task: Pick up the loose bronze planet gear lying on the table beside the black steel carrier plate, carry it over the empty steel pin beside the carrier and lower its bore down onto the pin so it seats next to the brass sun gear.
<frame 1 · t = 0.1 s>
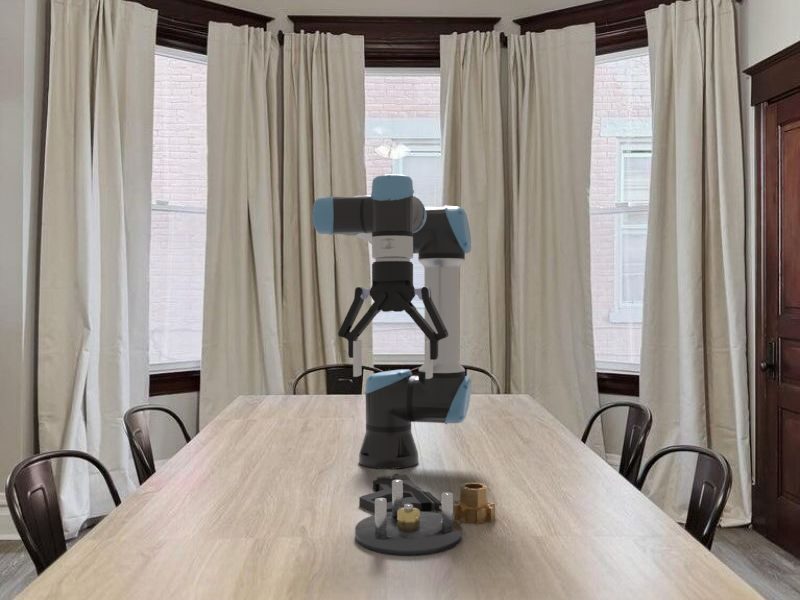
hand: (392, 377, 129), 28 cm above the table, fingers open, 13 cm apart
pistol: (390, 500, 150), on the table
planet gear: (474, 517, 136), on the table
carrier: (408, 535, 126), on the table
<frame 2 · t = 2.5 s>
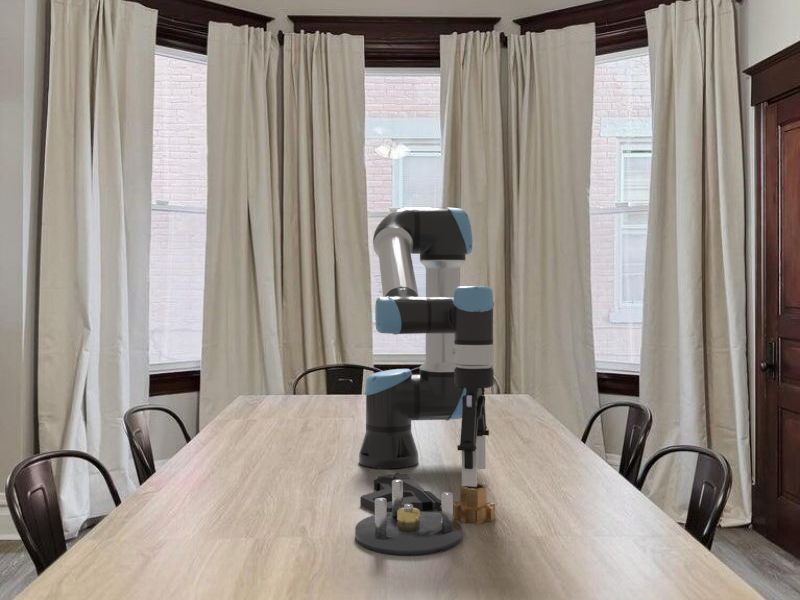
hand: (474, 477, 136), 8 cm above the table, fingers open, 13 cm apart
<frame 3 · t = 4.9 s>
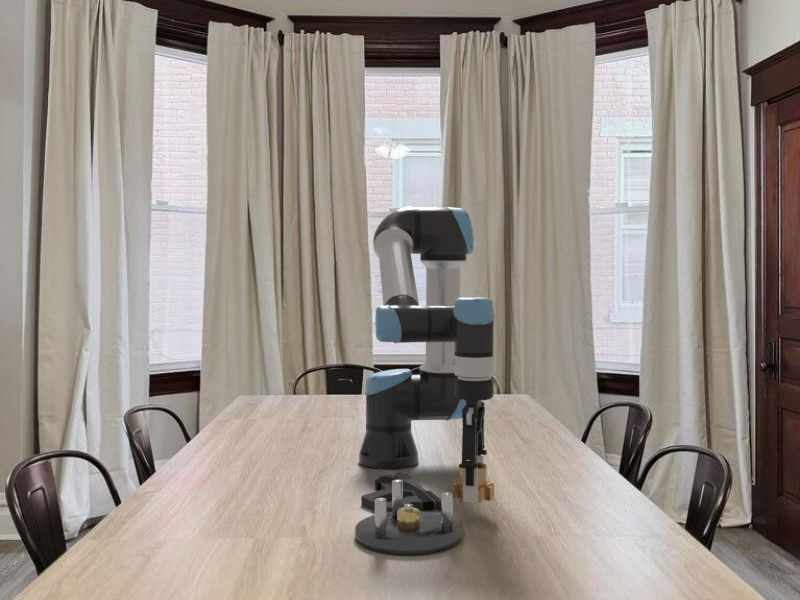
hand: (473, 494, 137), 4 cm above the table, fingers closed on planet gear, 8 cm apart
planet gear: (473, 496, 137), point 4 cm above the table, touching gripper
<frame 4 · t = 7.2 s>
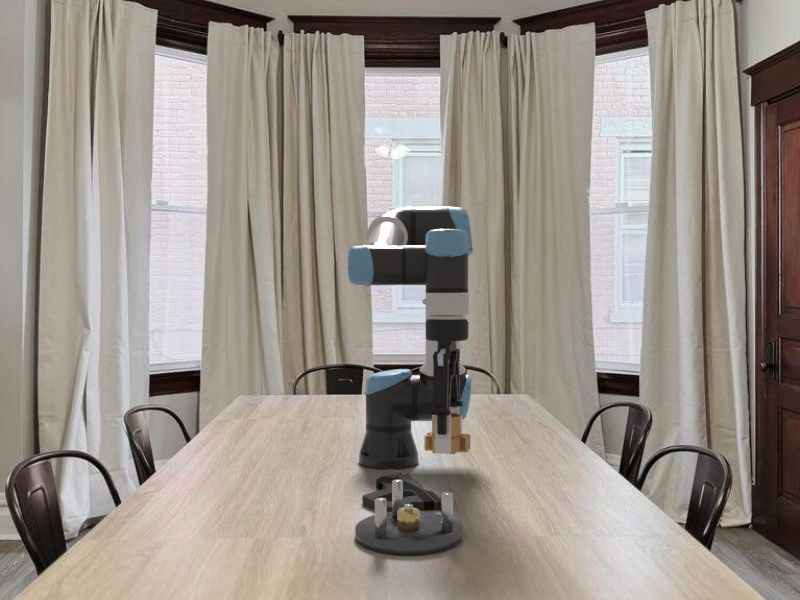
hand: (447, 447, 124), 16 cm above the table, fingers closed on planet gear, 8 cm apart
planet gear: (447, 449, 124), point 16 cm above the table, touching gripper
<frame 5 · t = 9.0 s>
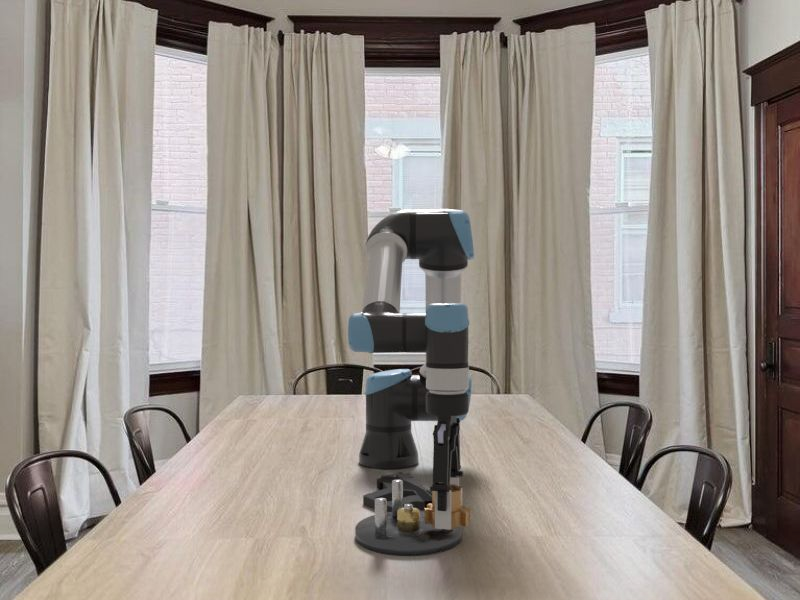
hand: (447, 520, 124), 3 cm above the table, fingers closed on planet gear, 8 cm apart
planet gear: (447, 522, 124), point 3 cm above the table, touching gripper
when the fingers open (2 cm above the table, at t = 9.8 s): planet gear stays where it is, resting on carrier.
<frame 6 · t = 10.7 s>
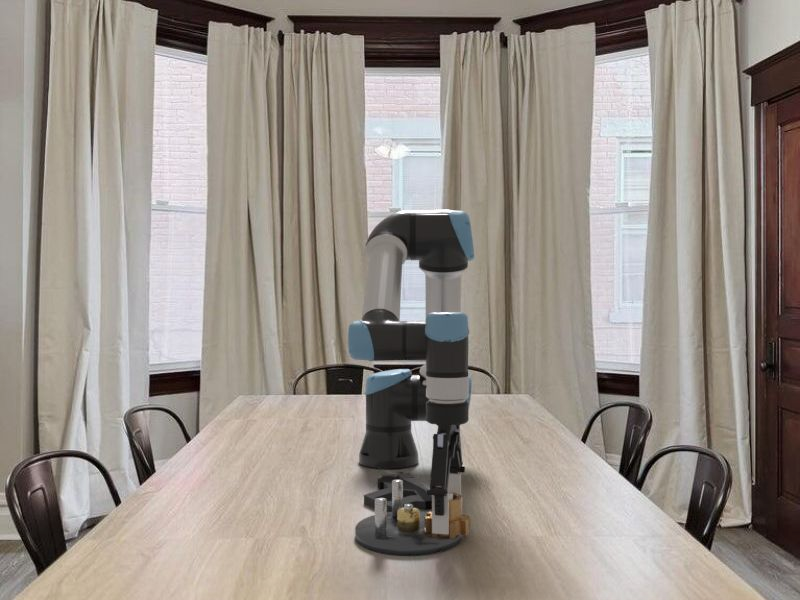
hand: (447, 520, 125), 3 cm above the table, fingers open, 13 cm apart
planet gear: (447, 530, 125), point 1 cm above the table, touching carrier
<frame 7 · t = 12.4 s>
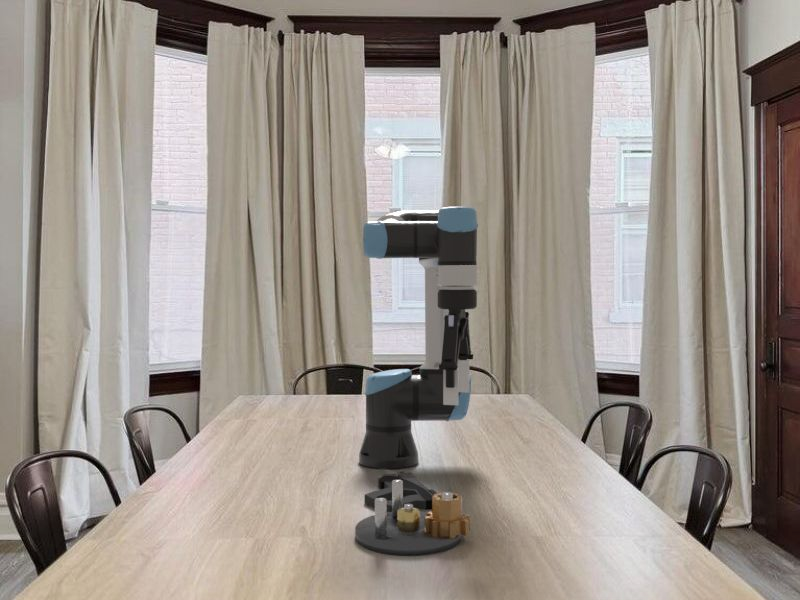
hand: (456, 398, 137), 23 cm above the table, fingers open, 13 cm apart
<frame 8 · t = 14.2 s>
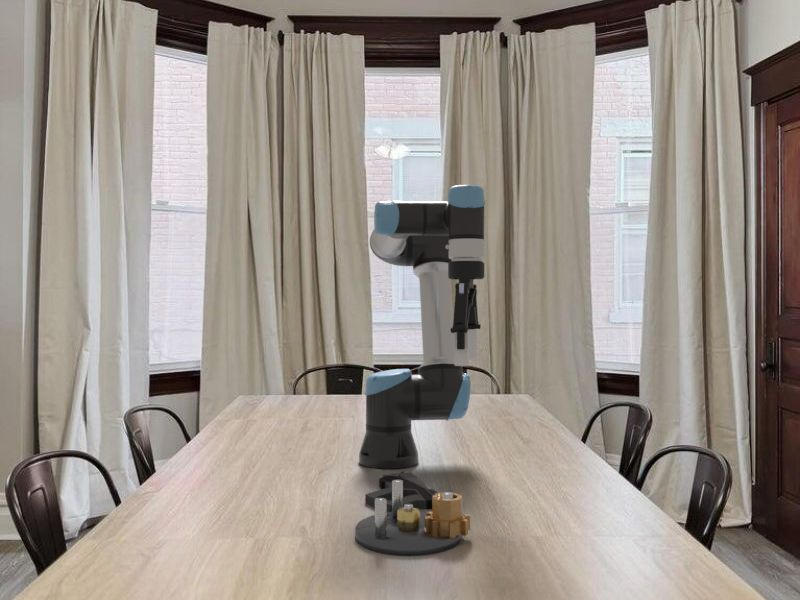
hand: (466, 362, 147), 29 cm above the table, fingers open, 13 cm apart
at the end: planet gear 0.0 cm from the target spot on the carrier, point 1.5 cm above the carrier's base; planet gear tilted 0°; the gripper is holding nothing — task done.
